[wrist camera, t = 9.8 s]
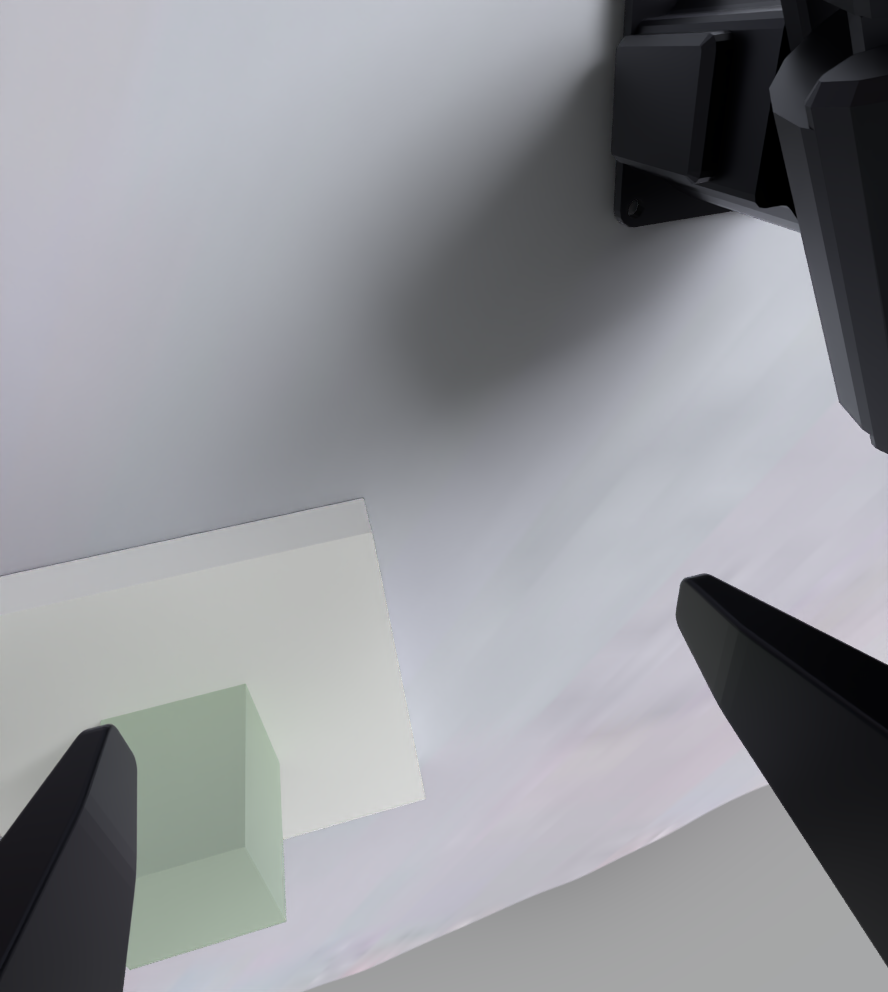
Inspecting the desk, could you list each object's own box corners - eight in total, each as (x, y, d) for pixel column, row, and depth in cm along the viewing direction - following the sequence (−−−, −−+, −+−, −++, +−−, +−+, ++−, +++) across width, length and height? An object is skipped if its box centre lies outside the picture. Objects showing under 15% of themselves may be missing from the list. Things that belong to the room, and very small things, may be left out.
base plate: (363, 498, 23) (372, 531, 21) (416, 761, 32) (425, 799, 30) (-141, 606, 20) (-174, 654, 19) (74, 856, 30) (65, 902, 28)
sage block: (245, 683, 23) (244, 846, 19) (279, 762, 26) (286, 921, 22) (101, 720, 23) (61, 899, 18) (152, 797, 26) (129, 969, 21)
